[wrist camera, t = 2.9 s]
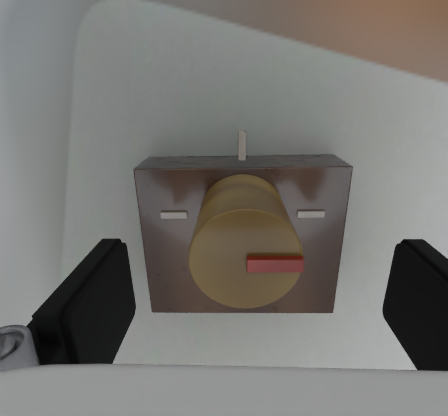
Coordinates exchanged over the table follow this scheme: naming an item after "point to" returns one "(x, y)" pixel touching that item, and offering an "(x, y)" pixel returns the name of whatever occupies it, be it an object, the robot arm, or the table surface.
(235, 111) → the table surface
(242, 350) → the table surface
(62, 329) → the robot arm
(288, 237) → the knob
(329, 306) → the panel
